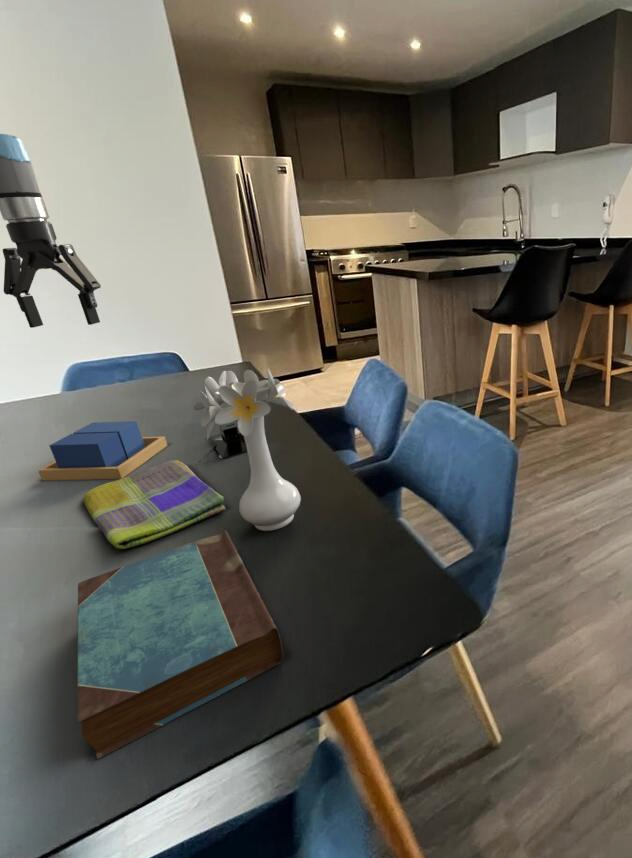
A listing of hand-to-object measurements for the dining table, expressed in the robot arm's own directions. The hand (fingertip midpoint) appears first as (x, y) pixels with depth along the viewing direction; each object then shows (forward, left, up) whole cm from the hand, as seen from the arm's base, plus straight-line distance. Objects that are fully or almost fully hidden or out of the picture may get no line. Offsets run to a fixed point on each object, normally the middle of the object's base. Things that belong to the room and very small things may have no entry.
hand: (65, 325), depth 109 cm
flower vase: (+57, -38, -27) cm, 74 cm away
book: (+56, -62, -27) cm, 88 cm away
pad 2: (+13, -14, -26) cm, 32 cm away
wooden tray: (+13, -16, -27) cm, 34 cm away
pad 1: (+13, -20, -26) cm, 35 cm away
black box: (+36, -8, -27) cm, 46 cm away
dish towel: (+34, -33, -27) cm, 54 cm away
